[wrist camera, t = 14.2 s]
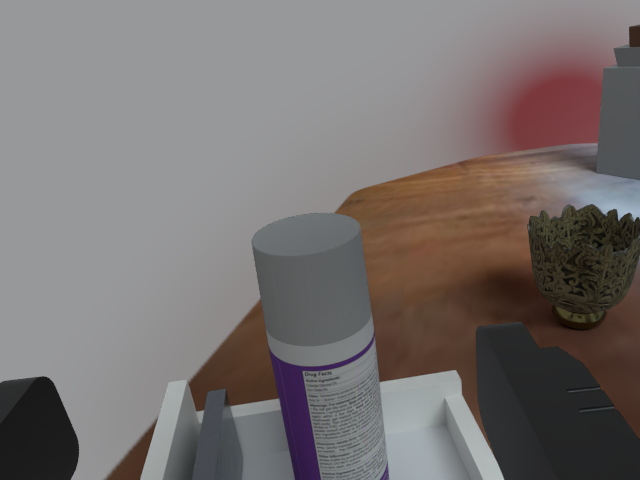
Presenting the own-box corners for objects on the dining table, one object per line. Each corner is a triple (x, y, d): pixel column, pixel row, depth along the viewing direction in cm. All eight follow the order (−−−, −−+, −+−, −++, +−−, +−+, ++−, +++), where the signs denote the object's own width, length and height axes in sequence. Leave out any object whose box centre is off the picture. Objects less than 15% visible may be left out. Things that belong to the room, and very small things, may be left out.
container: (291, 480, 29) (241, 226, 23) (372, 455, 29) (342, 204, 24) (313, 556, 24) (258, 267, 19) (406, 523, 25) (381, 238, 20)
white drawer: (457, 417, 32) (453, 326, 30) (532, 573, 23) (536, 460, 20) (197, 459, 32) (172, 371, 29) (166, 637, 22) (125, 529, 20)
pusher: (243, 459, 30) (226, 388, 28) (234, 580, 23) (211, 499, 22) (226, 461, 30) (207, 391, 28) (212, 584, 23) (187, 503, 22)
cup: (558, 356, 36) (563, 251, 33) (508, 305, 43) (509, 214, 40) (659, 336, 37) (673, 231, 34) (594, 289, 43) (601, 198, 40)
